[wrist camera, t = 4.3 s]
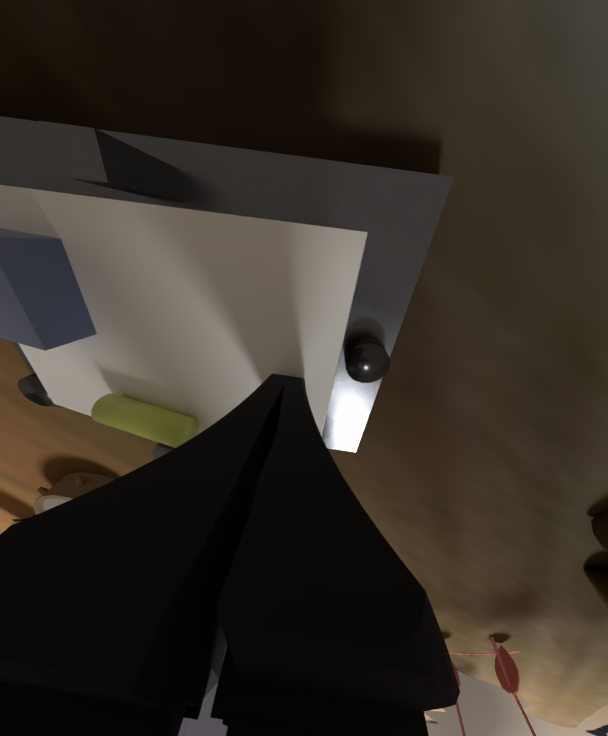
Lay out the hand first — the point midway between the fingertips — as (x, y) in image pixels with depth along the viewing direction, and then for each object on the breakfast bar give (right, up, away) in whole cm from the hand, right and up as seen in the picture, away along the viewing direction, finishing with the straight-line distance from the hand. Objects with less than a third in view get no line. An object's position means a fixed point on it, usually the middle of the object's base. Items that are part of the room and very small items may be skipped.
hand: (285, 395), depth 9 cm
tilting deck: (-7, +2, +2) cm, 7 cm away
